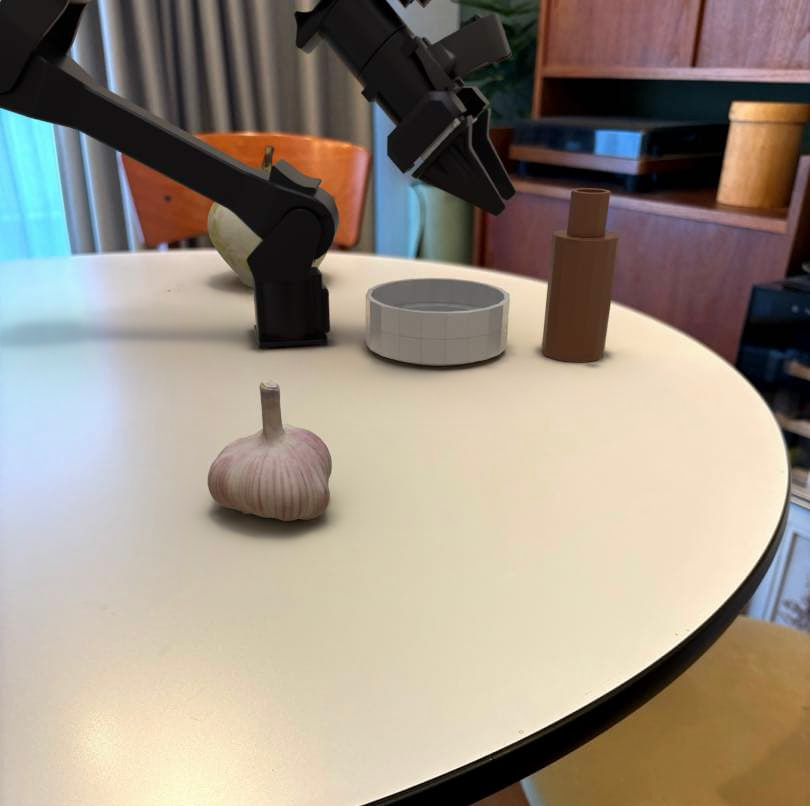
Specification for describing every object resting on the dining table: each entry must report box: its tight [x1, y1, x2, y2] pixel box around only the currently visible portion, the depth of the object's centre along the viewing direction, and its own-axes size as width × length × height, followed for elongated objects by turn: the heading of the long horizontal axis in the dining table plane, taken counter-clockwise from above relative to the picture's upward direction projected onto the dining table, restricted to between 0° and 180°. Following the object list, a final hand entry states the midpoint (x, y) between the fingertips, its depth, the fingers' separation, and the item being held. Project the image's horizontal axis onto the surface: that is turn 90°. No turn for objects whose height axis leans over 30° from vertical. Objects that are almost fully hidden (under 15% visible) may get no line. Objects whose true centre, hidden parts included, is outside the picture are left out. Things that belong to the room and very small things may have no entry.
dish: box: [365, 277, 511, 367], centre depth 76 cm, size 13×13×5 cm
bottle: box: [541, 187, 621, 363], centre depth 73 cm, size 6×6×14 cm
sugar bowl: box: [206, 145, 330, 288], centre depth 97 cm, size 20×15×15 cm
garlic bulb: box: [207, 380, 333, 522], centre depth 48 cm, size 8×7×8 cm
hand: (507, 203), depth 71 cm, fingers open, 9 cm apart
